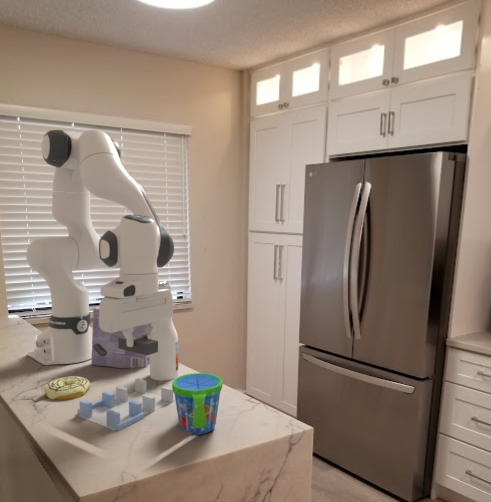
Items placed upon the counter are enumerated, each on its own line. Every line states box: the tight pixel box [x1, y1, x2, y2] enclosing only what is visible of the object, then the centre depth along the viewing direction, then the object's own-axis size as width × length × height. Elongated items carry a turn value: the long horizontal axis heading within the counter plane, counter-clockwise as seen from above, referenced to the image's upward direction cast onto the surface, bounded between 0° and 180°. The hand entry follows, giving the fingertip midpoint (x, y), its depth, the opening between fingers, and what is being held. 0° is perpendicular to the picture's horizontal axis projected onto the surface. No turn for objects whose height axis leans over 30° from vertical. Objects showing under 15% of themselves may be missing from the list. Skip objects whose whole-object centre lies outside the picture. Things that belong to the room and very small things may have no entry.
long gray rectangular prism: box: [118, 336, 158, 355], centre depth 99 cm, size 10×3×3 cm, turn 58°
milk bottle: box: [149, 314, 179, 382], centre depth 118 cm, size 8×8×20 cm
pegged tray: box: [77, 378, 176, 431], centre depth 97 cm, size 14×18×4 cm
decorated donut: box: [43, 375, 90, 401], centre depth 106 cm, size 10×11×4 cm
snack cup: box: [171, 372, 223, 436], centre depth 90 cm, size 16×10×10 cm
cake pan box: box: [91, 306, 150, 370], centre depth 128 cm, size 19×5×18 cm, turn 77°
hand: (139, 343), depth 99 cm, fingers closed on long gray rectangular prism, 3 cm apart
